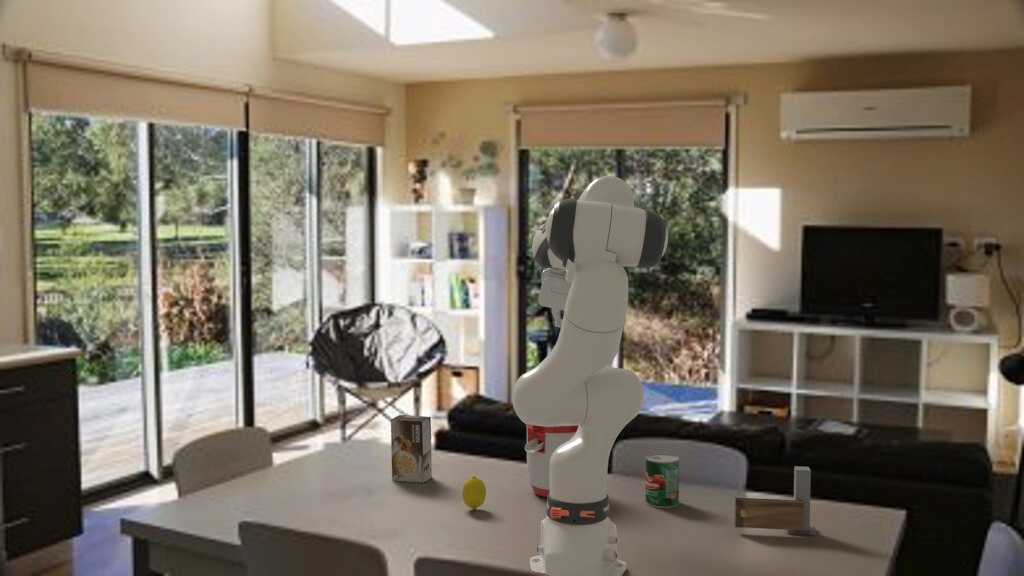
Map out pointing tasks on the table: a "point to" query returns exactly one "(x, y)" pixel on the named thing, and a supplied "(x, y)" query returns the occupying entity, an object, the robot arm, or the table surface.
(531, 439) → the citrus juicer
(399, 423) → the coffee box
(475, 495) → the lemon
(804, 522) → the gatepost
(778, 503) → the gate leaf
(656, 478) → the canned tomato
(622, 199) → the robot arm
